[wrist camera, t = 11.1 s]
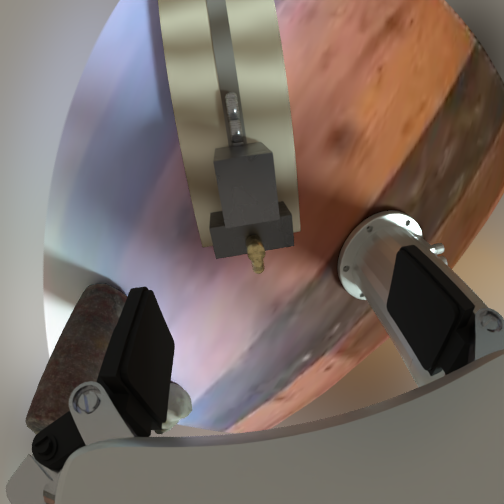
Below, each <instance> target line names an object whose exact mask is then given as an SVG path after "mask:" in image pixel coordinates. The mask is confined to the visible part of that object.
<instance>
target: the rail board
mask: <svg viewBox="0 0 504 504" xmlns="http://www.w3.org/2000/svg"><path fill="white" fill-rule="evenodd" d="M158 6H159V16H160V24H161V32H162V40H163V47H164V54H165V61H166V68H167V75H168V81H169V87H170V93H171V99H172V105H173V111H174V116H175V122H176V127H177V132H178V138H179V143H180V148H181V153H182V158H183V163H184V168H185V173H186V177H187V182H188V187H189V191H190V196H191V200H192V205H193V209H194V213H195V218H196V222H197V226H198V230H199V234H200V239H201V243H202V247H208V246H213V243H212V239H211V234H210V230H209V225H210V213H213V212H218V211H222V207H221V201H220V196H219V191H218V185H217V180H216V174H215V169H214V163H213V160H214V153H215V149H216V148H222V147H228V146H233V145H232V141H231V134H230V128H229V121H228V115H227V108H226V102H225V96H226V94H227V93H229V92H233V93H235V94H236V95H237V100H238V107H239V113H240V120H241V127H242V134H243V141H244V143H243V144H247V143H254V142H262V143H263V144H264V145H265V146H266V147H267V148H268V149H269V150H271V151H272V152H273V159H274V168H275V177H276V186H277V196H278V202H281V201H284V203H285V204H286V206H287V208H288V209H289V211H290V212H291V214H292V221H293V232H299V231H301V230H300V213H299V198H298V185H297V172H296V160H295V149H294V139H293V129H292V120H291V111H290V103H289V95H288V87H287V79H286V72H285V65H284V58H283V51H282V45H281V38H280V32H279V26H278V21H277V15H276V9H275V4H274V0H158Z"/></svg>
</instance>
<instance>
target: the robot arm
mask: <svg viewBox="0 0 504 504" xmlns="http://www.w3.org/2000/svg"><path fill="white" fill-rule="evenodd" d="M443 252H444V246H443V244H442V243H437V244H434V245H430V244H429V243H427V242H426V241H425V240H424V239H423V234H422V231H421V228H420V227H419V225H418V223H417V222H416V221H415V220H414V219H413V218H411V217H410V216H408V215H407V214H405V213H403V212H400V211H393V210H390V211H383V212H380V213H377V214H374V215H372V216H371V217H369V218H367V219H365V220H364V221H363V222H362V223H360V224H359V225H358V226H357V227H356V228H355V229H354V230H353V231H352V232H351V234H350V235H349V237H348V238H347V239H346V241H345V243H344V245H343V247H342V249H341V252H340V255H339V259H338V267H337V268H338V276H339V279H340V282H341V283H342V285H343V287H344V289H345V290H346V291H347V292H348V293H349V294H350V295H352V296H353V297H355V298H358V299H363V300H367V301H368V303H369V304H370V306H371V307H372V309H373V310H374V312H375V314H376V315H377V317H378V318H379V320H380V322H381V323H382V325H383V327H384V328H385V330H386V331H387V333H388V335H389V336H390V338H391V340H392V341H393V343H394V345H395V346H396V348H397V350H398V352H399V353H400V355H401V357H402V359H403V360H404V362H405V364H406V366H407V367H408V369H409V371H410V373H411V375H412V376H413V378H414V380H415V382H416V383H417V385H418V386H419V388H416V389H414V390H411V391H409V392H407V393H404V394H401V395H399V396H396V397H393V398H391V399H388V400H385V401H382V402H379V403H376V404H373V405H370V406H367V407H364V408H361V409H358V410H354V411H351V412H348V413H344V414H340V415H336V416H333V417H329V418H325V419H320V420H316V421H312V422H307V423H302V424H297V425H292V426H287V427H281V428H275V429H268V430H262V431H254V432H246V433H236V434H225V435H211V436H192V437H149V436H150V435H151V430H162V423H165V422H166V420H167V411H168V400H169V391H170V382H171V373H172V365H173V357H174V349H175V346H174V340H173V338H172V336H171V333H170V331H169V329H168V327H167V324H166V322H165V320H164V317H163V315H162V313H161V310H160V308H159V305H158V303H157V300H156V298H155V295H154V293H153V291H152V290H148V288H147V287H139V288H132V289H131V290H130V292H129V294H128V297H127V299H126V302H125V304H124V307H123V309H122V312H121V315H120V317H119V320H118V323H117V325H116V326H115V328H114V331H113V333H112V336H111V339H110V342H109V344H108V347H107V350H106V353H105V356H104V359H103V362H102V365H101V368H100V372H99V375H98V378H97V381H96V382H92V381H89V382H84V383H82V384H80V385H79V386H77V387H76V388H75V389H74V390H73V392H72V393H71V395H70V398H69V409H70V410H69V411H68V412H67V413H65V414H64V415H62V416H61V417H60V418H58V419H57V420H55V421H54V422H53V423H51V424H50V425H48V426H47V427H46V428H44V429H43V430H41V431H40V432H39V433H38V434H37V435H36V436H35V438H34V440H33V443H32V452H33V455H32V456H31V455H30V454H28V455H27V457H26V458H25V459H24V461H23V462H22V463H21V465H20V466H19V467H18V469H17V470H16V471H15V473H14V474H13V475H12V477H11V478H10V480H9V481H8V483H7V485H6V493H7V497H8V499H9V501H10V502H11V504H504V319H503V317H502V316H501V315H500V314H499V313H498V312H496V311H495V310H493V309H490V308H488V307H487V305H485V303H483V301H482V300H481V299H480V298H479V297H478V296H477V295H476V294H475V293H474V292H473V290H471V288H470V287H469V286H468V285H467V284H466V283H465V282H464V281H463V280H462V279H461V278H460V277H459V276H458V275H457V274H456V273H454V271H453V270H452V269H451V268H450V267H448V266H447V260H446V258H445V257H444V256H439V257H438V256H437V254H441V253H443Z"/></svg>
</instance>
